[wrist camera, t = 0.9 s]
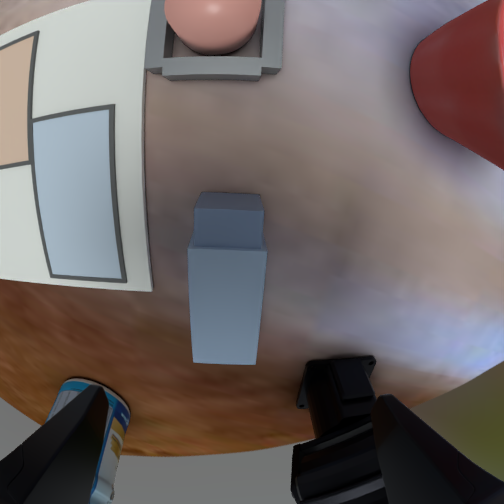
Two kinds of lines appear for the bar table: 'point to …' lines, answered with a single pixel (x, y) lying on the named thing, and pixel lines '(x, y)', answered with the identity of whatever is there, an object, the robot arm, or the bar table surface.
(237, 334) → the blue paint stick
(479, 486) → the robot arm
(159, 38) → the button housing
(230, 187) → the bar table surface
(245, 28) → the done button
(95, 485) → the beverage bottle
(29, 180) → the white sorting board
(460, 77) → the flower pot
